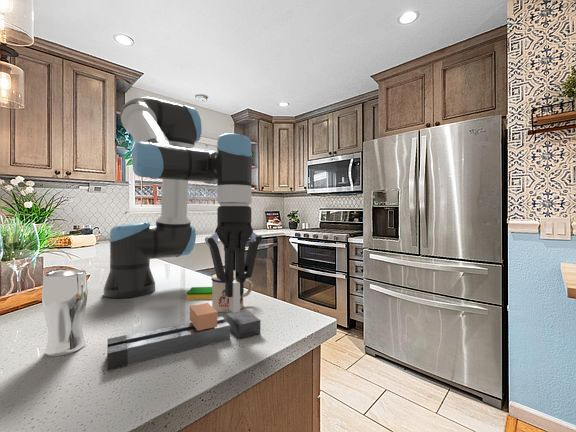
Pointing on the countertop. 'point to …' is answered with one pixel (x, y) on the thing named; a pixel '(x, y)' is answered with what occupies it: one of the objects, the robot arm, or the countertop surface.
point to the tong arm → (154, 333)
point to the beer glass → (64, 310)
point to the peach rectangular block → (203, 316)
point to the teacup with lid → (219, 297)
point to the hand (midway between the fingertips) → (234, 310)
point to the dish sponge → (199, 293)
